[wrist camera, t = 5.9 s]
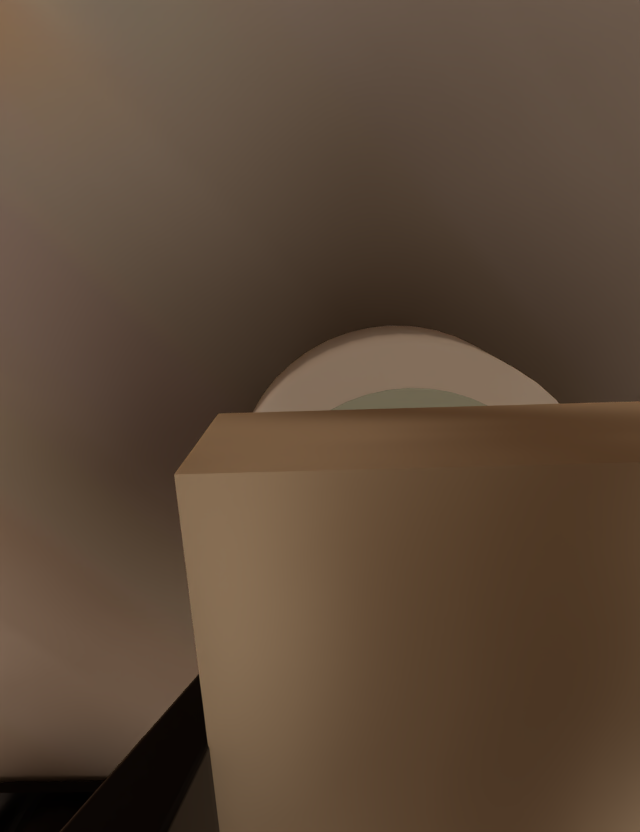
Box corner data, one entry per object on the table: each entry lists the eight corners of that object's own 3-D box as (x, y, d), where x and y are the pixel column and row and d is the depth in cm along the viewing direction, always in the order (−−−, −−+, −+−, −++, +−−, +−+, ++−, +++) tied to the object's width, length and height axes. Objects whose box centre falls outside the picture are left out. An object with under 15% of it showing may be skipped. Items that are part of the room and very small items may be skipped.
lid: (259, 851, 9) (241, 1013, 7) (217, 413, 7) (173, 474, 5) (606, 848, 9) (684, 1011, 7) (686, 399, 6) (836, 457, 5)
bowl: (256, 579, 17) (231, 692, 12) (236, 323, 14) (197, 350, 10) (512, 574, 17) (578, 686, 12) (535, 314, 14) (628, 337, 10)
